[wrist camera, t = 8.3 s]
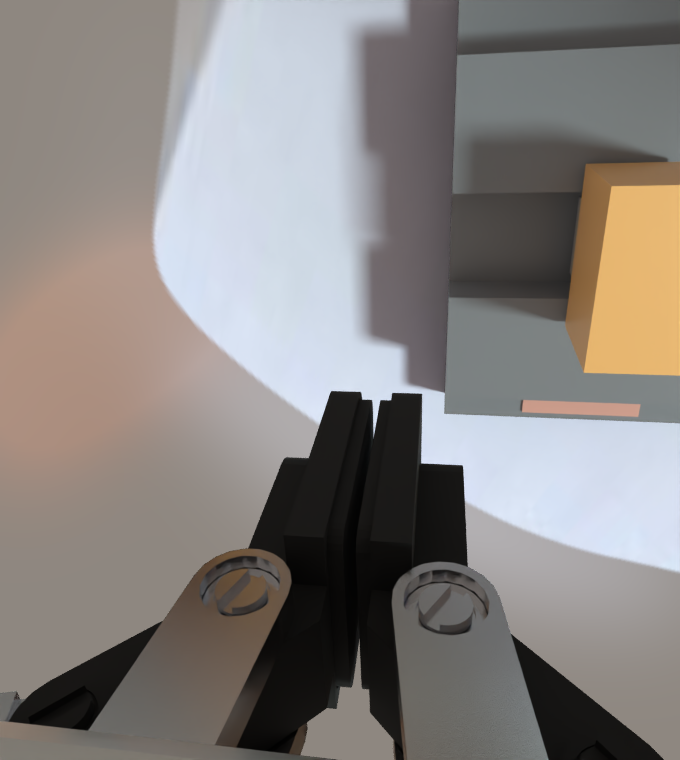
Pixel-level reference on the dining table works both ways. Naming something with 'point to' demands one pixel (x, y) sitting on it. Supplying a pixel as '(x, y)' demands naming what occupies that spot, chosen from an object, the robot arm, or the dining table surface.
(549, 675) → the robot arm
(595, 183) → the switch knob
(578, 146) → the grey slotted track
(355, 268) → the dining table surface
